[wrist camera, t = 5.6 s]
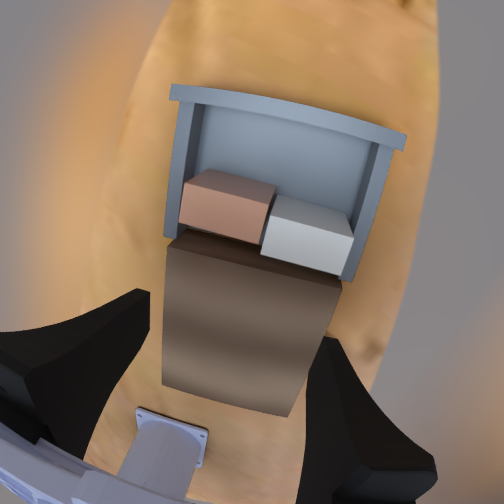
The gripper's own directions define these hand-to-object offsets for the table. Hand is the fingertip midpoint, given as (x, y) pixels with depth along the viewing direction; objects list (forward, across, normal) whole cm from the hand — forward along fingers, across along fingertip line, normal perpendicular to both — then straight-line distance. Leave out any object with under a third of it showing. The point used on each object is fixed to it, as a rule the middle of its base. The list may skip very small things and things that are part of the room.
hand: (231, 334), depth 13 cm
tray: (+9, 0, -5) cm, 10 cm away
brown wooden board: (+9, 0, +6) cm, 10 cm away
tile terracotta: (+6, +2, -2) cm, 7 cm away
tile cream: (+6, -2, -2) cm, 7 cm away
